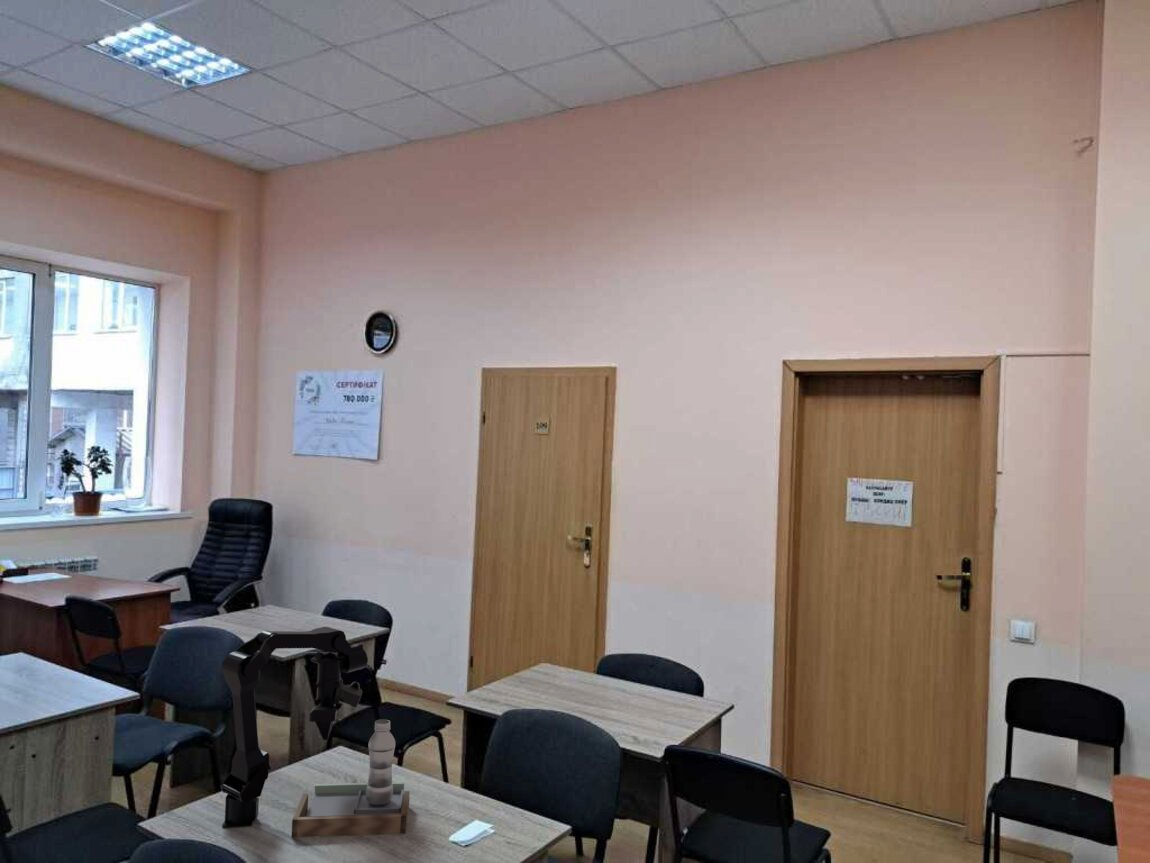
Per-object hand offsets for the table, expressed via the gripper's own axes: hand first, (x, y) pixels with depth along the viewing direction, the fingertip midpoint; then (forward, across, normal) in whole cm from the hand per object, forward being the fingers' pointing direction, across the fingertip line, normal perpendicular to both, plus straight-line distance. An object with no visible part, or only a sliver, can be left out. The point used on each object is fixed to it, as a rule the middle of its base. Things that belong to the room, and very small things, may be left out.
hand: (326, 737), depth 207 cm
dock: (+13, -19, -9) cm, 25 cm away
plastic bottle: (+12, -12, -15) cm, 23 cm away
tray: (+13, -12, -10) cm, 20 cm away
